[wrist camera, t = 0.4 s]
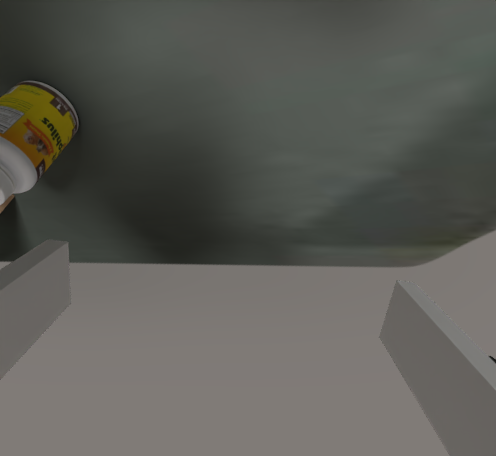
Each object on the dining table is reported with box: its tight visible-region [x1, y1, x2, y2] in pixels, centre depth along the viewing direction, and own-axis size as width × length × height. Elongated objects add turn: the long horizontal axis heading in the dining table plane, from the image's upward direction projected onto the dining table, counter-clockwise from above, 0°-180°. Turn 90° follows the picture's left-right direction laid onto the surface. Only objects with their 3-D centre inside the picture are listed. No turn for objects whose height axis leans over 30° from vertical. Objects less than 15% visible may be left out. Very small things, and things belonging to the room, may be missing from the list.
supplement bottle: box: [0, 81, 79, 205], centre depth 26 cm, size 6×6×10 cm
